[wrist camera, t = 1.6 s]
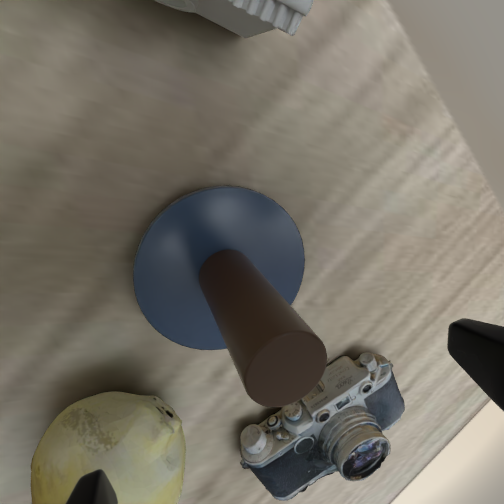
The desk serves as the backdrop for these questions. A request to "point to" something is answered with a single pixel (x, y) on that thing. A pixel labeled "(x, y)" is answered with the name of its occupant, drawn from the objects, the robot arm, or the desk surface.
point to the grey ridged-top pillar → (248, 13)
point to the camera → (327, 428)
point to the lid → (232, 288)
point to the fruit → (112, 450)
